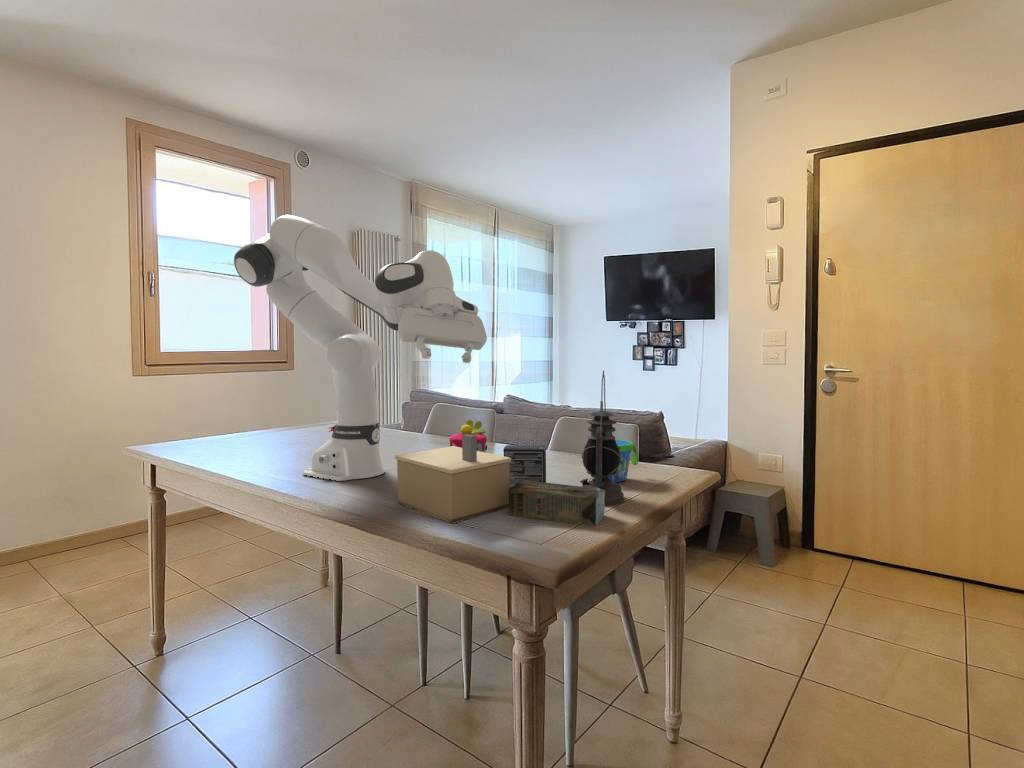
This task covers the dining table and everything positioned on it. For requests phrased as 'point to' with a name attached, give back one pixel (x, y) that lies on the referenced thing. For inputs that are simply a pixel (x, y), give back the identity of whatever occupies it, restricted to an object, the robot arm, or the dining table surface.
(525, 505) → the beverage carton
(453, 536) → the dining table surface
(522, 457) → the small box
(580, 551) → the dining table surface
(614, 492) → the lantern
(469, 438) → the lid flap
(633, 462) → the snack cup
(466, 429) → the cake
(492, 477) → the cardboard box
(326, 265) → the robot arm
